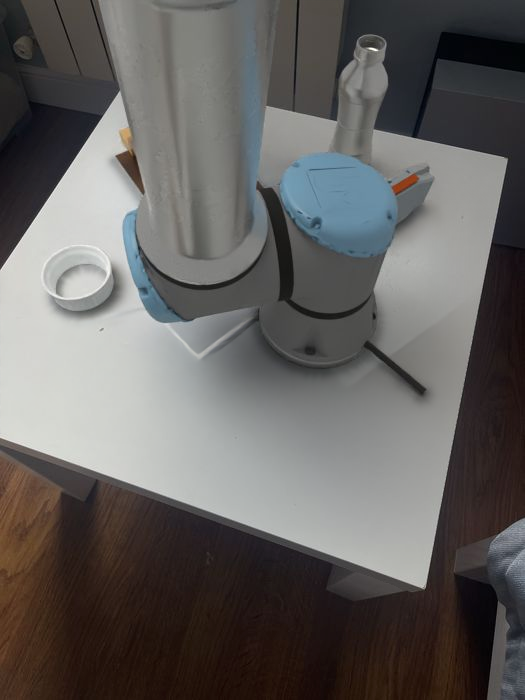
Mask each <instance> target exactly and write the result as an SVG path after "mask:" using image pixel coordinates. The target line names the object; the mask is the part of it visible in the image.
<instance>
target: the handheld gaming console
mask: <svg viewBox="0 0 525 700" xmlns="http://www.w3.org/2000/svg"><path fill="white" fill-rule="evenodd" d="M430 169H431V167H430V166H429V165H428V163H426V162H422V163H419V164H415V165H411V166H408V167H406V168H405V169H403V170H401V171H400V172H398V173H396V174H395V175H393V176H392V177H389V178H388V179H386V180H387V182H388V183H389V184H390V186H391V188H392V189H393V192H394V194H395V196H396V200H397V206H398V215H397V220H396V225H395V226H397V225H398V224H400V223H401V222H402V221H404V220H405V219H406V218H408V217H409V216H410V214H411V213H412V211H414V209H416V208H418V207H419V206H420V205H422V204H423V203H424V202H425V200H426V198H427V196H428V194H429V192H430V190H431V188H432V185H433V183H434V182H435V179H436V178H435V176H434V175H432V174H431V173H430Z"/></svg>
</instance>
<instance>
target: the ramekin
mask: <svg viewBox="0 0 525 700" xmlns="http://www.w3.org/2000/svg"><path fill="white" fill-rule="evenodd" d="M81 265H93V266H96V267H99V268H100V269H102V270H103V271H104V272H105V273H106V276H105V279H104V281H103V282H102V283H101V284H100V286H99V287H97V288H96V289H95V290H93V291H91V292H89V293H87V294H84V295H81V296H77V297H65V296H61V295H60V294H58V293H57V283H58V281H59V280H60V278H61V276H63V274H64V273H65V272H67V271H68V270H70V269H72V268H74V267H78V266H81ZM40 282H41V285H42V288H43V289H44V290H45V292H46V293H47V294H48V295H49V296H51V297H52V298H53V300H54V301H55V302H56V303H57V304H58V305H59V306H60V307H61V308H63V309H65V310H69V311H72V312H73V311H74V312H82V311H83V312H85V311H88V310H92V309H94V308H97V307H98V306H100V305H101V304H103V303H105V301H106V300H108V298H109V297H110V296H111V294H112V292H113V289H114V285H115V280H114V274H113V267H112V261H111V260H110V257H109V256H108V255H107V253H106V252H105V251H103V250H102V249H101V248H99V247H97V246H95V245H91V244H85V243H79V244H78V243H76V244H71V245H68V246H64V247H61V248H59V249H58V250H57V251H54V253H52V254H51V255H50V256H48V258H47V259H46V261H44V264H43V265H42V268H41V272H40Z"/></svg>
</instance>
